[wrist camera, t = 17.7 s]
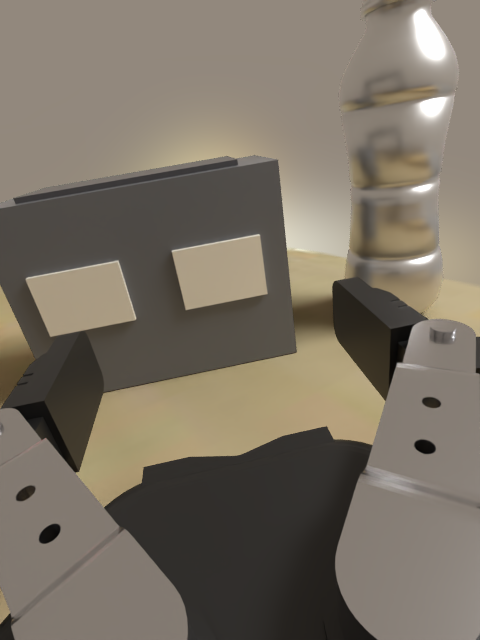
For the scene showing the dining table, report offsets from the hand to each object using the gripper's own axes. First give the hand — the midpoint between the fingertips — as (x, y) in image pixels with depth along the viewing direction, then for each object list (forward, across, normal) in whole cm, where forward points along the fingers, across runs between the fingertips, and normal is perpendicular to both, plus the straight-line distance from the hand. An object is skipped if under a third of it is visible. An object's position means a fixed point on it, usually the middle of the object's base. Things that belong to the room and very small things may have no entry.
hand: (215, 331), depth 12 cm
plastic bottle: (+13, -13, +8) cm, 21 cm away
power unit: (+14, +3, +8) cm, 16 cm away
